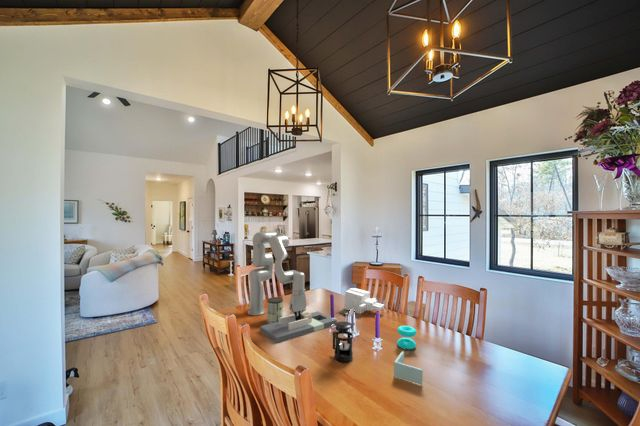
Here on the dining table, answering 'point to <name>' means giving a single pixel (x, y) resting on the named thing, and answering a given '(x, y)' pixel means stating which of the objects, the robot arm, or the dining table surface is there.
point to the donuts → (406, 332)
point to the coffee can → (274, 309)
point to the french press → (343, 346)
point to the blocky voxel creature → (360, 301)
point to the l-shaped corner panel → (407, 370)
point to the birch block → (307, 316)
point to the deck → (296, 326)
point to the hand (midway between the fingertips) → (298, 321)
